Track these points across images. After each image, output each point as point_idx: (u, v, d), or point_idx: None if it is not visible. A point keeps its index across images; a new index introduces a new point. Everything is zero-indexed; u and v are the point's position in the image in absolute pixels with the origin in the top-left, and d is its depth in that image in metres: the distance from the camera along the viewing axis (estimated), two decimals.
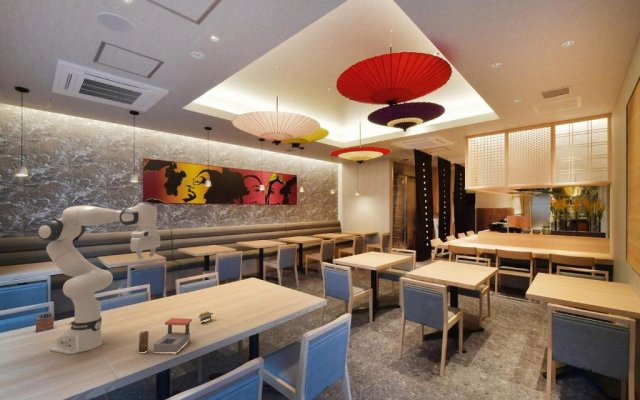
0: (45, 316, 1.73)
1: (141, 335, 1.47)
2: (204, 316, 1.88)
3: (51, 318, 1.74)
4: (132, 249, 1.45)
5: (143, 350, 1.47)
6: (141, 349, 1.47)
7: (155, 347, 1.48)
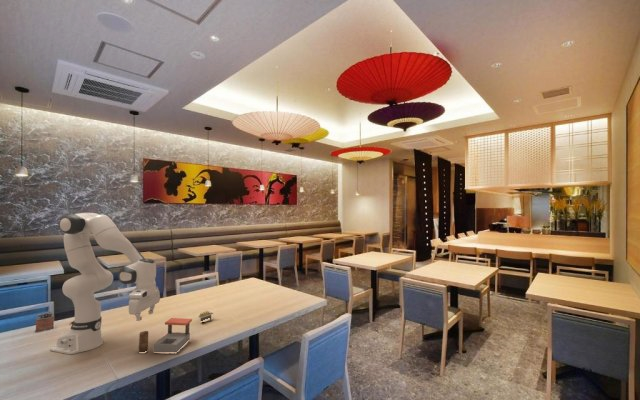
0: (45, 316, 1.73)
1: (141, 335, 1.47)
2: (204, 316, 1.88)
3: (51, 318, 1.74)
4: (130, 312, 1.40)
5: (143, 350, 1.47)
6: (141, 349, 1.47)
7: (155, 347, 1.48)
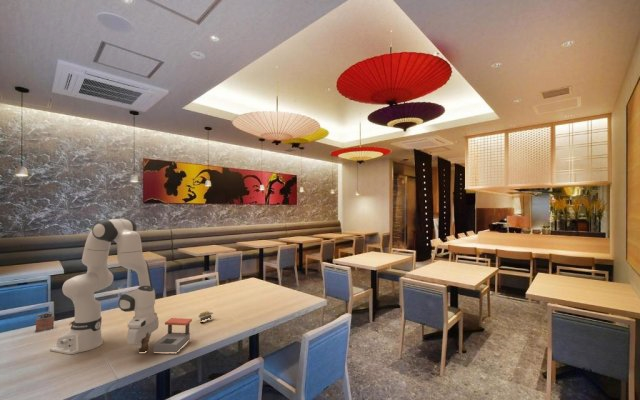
0: (45, 316, 1.73)
1: None
2: (204, 316, 1.89)
3: (51, 318, 1.74)
4: (128, 342, 1.39)
5: (143, 350, 1.47)
6: (141, 349, 1.47)
7: (155, 347, 1.48)
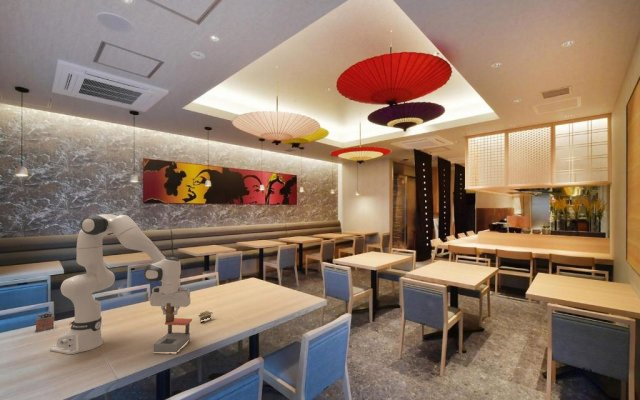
0: (45, 316, 1.73)
1: None
2: (204, 315, 1.89)
3: (51, 318, 1.74)
4: None
5: None
6: None
7: (155, 347, 1.48)
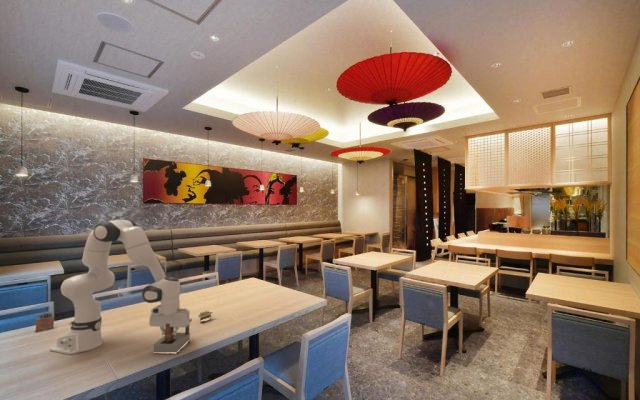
0: (45, 316, 1.73)
1: None
2: (204, 315, 1.89)
3: (51, 318, 1.74)
4: None
5: None
6: None
7: (155, 347, 1.48)
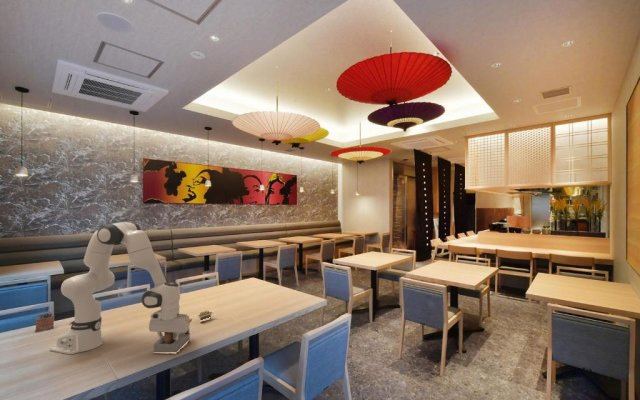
0: (45, 316, 1.73)
1: None
2: (204, 315, 1.89)
3: (51, 318, 1.74)
4: None
5: None
6: None
7: (155, 347, 1.48)
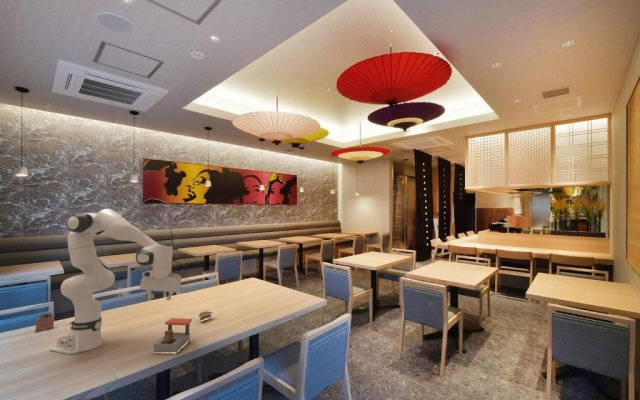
0: (45, 316, 1.73)
1: None
2: (204, 315, 1.90)
3: (51, 318, 1.74)
4: None
5: None
6: None
7: (155, 347, 1.48)
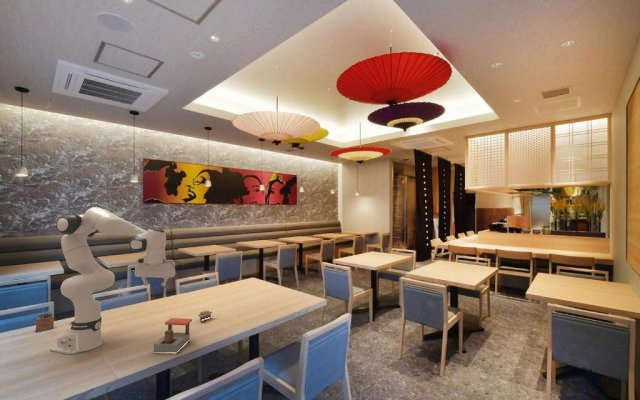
0: (45, 316, 1.73)
1: None
2: (204, 315, 1.90)
3: (51, 318, 1.74)
4: None
5: None
6: None
7: (155, 347, 1.48)
